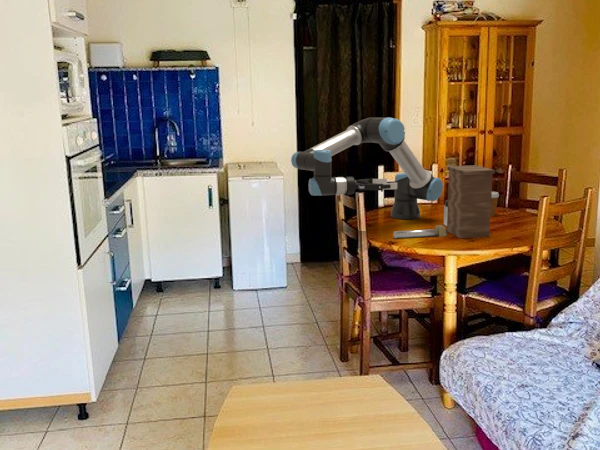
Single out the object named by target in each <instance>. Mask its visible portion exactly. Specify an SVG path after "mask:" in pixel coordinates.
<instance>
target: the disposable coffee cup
mask: <svg viewBox="0 0 600 450" xmlns="http://www.w3.org/2000/svg"><path fill="white" fill-rule="evenodd" d="M499 196H500V194H499V192H497V191H492V195H491V215H490V218H492V217H495V215H496V212H497V205H498V200H499Z"/></svg>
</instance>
